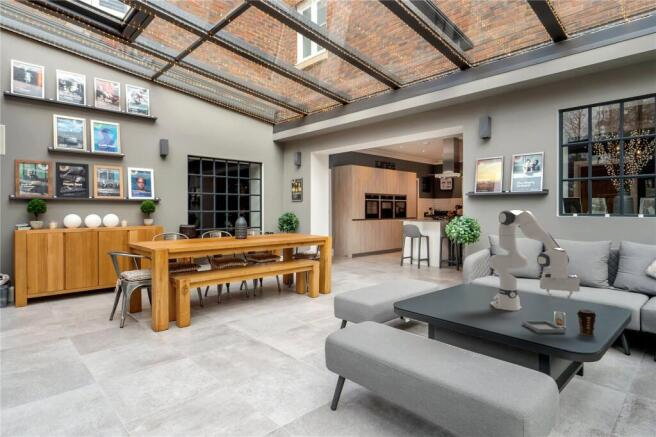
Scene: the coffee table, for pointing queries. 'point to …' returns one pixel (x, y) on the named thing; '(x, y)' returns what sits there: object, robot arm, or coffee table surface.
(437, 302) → the coffee table surface
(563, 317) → the shaker
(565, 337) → the coffee table surface
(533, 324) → the tray
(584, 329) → the coffee cup
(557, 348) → the coffee table surface
